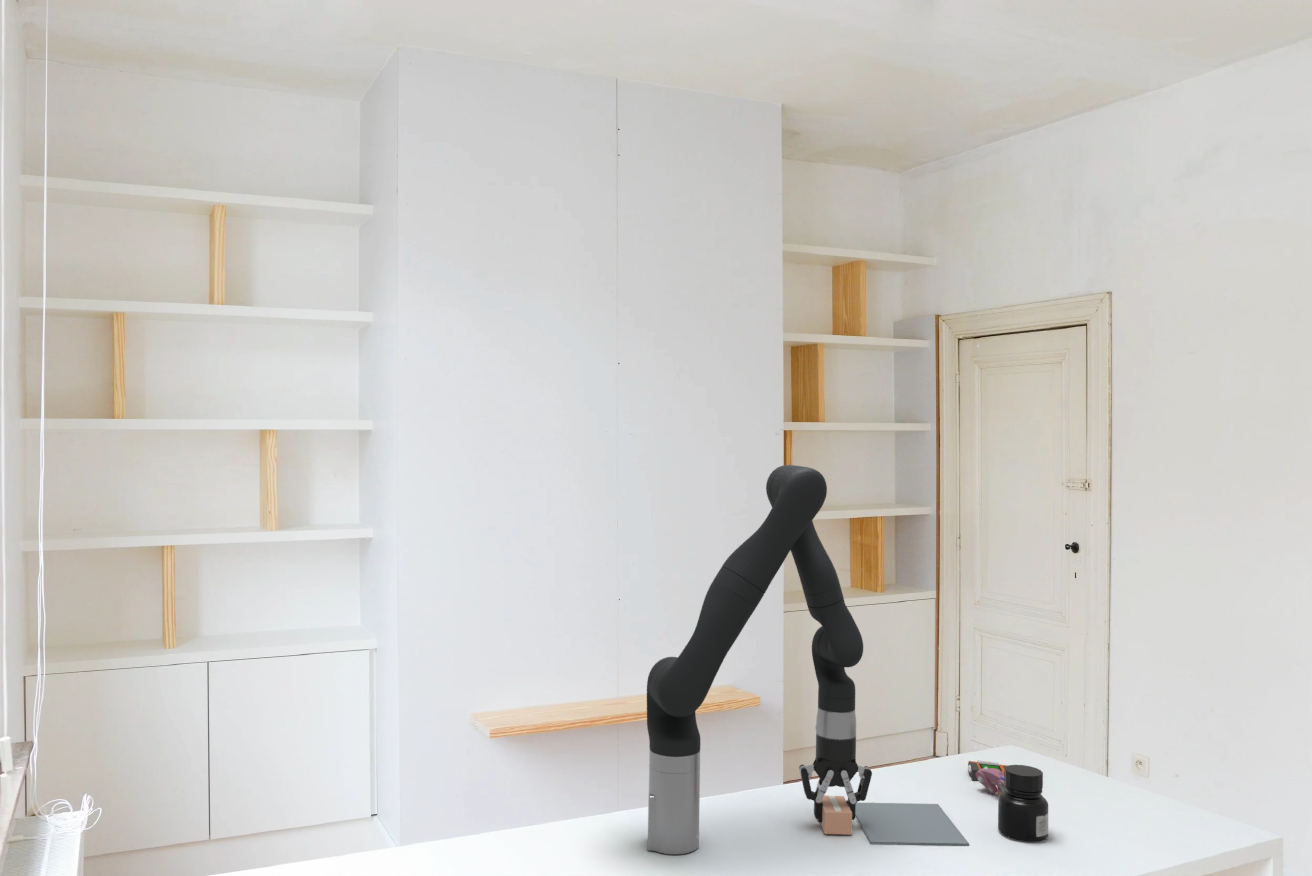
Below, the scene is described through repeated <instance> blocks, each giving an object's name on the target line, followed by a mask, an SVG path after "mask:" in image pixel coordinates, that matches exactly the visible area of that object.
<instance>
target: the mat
mask: <svg viewBox="0 0 1312 876" xmlns="http://www.w3.org/2000/svg"><path fill="white" fill-rule="evenodd" d="M855 819H857V820H856V821H857V822H858V821H859V822H858V824H859V823H860V824H859V825H860V828H861V829H862V831H863V833H864V835H865V836H866V839H867V840H868V842H869V844H870V845H894V844H897V845H898V846H901V845H903V846H905V845H906V846H910V845H911V846H954V847H955V846H956V847H957V846H958V847H959V846H960V847H968V846H970V843H969V841H968V840H967V839H966V837H964V835H963V834H962V832H961V831H960V830H959V828H958V827H957V826H956V824H954V822H953V821H952V820H951V819H950V817H949V815H948V814H946V812H945V811H944V810H943V809H942V807H941V805H940V804H939V803H910V802H907V803H906V802H905V803H903V802H897V803H896V802H857V803H856V808H855Z"/></svg>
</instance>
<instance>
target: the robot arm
mask: <svg viewBox="0 0 1312 876" xmlns="http://www.w3.org/2000/svg"><path fill="white" fill-rule="evenodd" d="M765 490H766V491H765V492H766V496H767V500H768V502H769V504H770V505H771V509H770V511H769V513H768V514H767V516H766V518H765V519H764V520H763V522H762V524H761V525H760V526H759V528H758V529H757V530H755V532H754V533H752V534H751V535H750V536H749V537H748V538H747V539H746V540H745V541H743V543H741V544H740V545H739V546H738V547H736V549H735V550H734V551H733V552H732V553H731V554H729V556H728V557H727V559H725V561H724V562H723V564H722V566H721V567H720V569H719V571H718V572H717V573H716V575H715V576H714V578H713V580H712V582H711V583H710V585H709V587H708V590H707V592H706V594H705V596H704V600H703V602H702V606H701V609H700V612H699V617H698V620H697V623H696V626H695V629H694V631H693V632H692V635H691V637H690V638H689V640H688V642H687V643H686V645H685V646H684V648H683V650H682V651H681V652H680V654H678V655H679V656H678V657H677V656H667V657H664V658H662V659H659V660H658V661H657V662H656V663H655V664H654V665H653V666H652V668H651V669H650V671H649V673H648V677H647V683H646V726H647V734H648V739H649V741H648V743H649V745H648V747H649V763H648V764H649V765H648V767H649V768H648V771H649V773H648V801H647V802H648V807H647V808H648V809H647V812H648V813H647V814H648V815H647V816H648V817H647V851H651V852H652V851H653V852H658V853H660V854H666V855H684V854H689V853H691V852H694V851H695V850H697V849H698V848H699V845H700V797H701V796H700V795H701V794H700V792H701V788H700V787H701V785H700V784H701V782H700V781H701V734H700V731H699V727H698V724H697V717H696V711H697V710H698V709H699V708H700V707H701V705H703V702H704V701H705V699H706V697H707V695H708V693H709V692H710V690H711V687H712V685H713V683H714V680H715V678H716V677H717V674H718V672H719V670H720V667H721V666H722V664H723V662H724V660H725V658H726V656H727V654H728V653H729V652H730V650H731V648H732V647H733V645H734V644H735V642H736V640H737V639H738V637H739V636H740V634H741V632H742V631H743V629H744V627H745V626H746V624H747V623H748V621H749V620H750V618H751V617H752V615H753V614H754V612H755V610H756V608H757V607H758V606H759V604H760V602H761V601H762V599H763V597H764V595H765V593H766V591H768V589H769V586H770V585H771V584H772V581H773V579H774V578H775V576H776V575H777V574H778V572H779V570H780V568H781V567H782V565H783V563H784V562H785V560H786V558H787V557H788V554H789V553H791V557H792V558H793V561H794V564H795V567H796V570H797V573H798V577H799V579H800V584H801V587H802V591H803V594H804V598H805V602H806V606H807V610H808V611H809V614H810V616H811V618H813V619H814V620H815V621H817V623H819V624H820V625H821V626H819V628H817V630H816V631H815V633H814V635H813V638H812V640H811V656H812V662H813V666H814V667H813V668H814V673H815V676H816V680H817V686H818V687H817V688H818V689H817V690H818V691H817V693H818V694H817V695H818V696H817V700H818V701H817V714H816V720H815V722H816V724H815V758H814V760H813V763H812V764H809V765H805V764H800V765H799V767H798V769H799V774H800V778H801V782H802V787H803V792H804V795H805V796H806V799H807V800H809V801H811V800H812V801H813V815H814V818H815V819H816V820H817V822H818V823H820V822H822V807H823V803H822V800H823V797H824V796H826V793H827V791H828V789H829V787H830V788H831V787H832V788H833V787H838V788H844V789H845V793H846V796H847V800H846V799H845V800H846V802H847V804H848V806H849V808H850V810H851V812H852V821H855V819H856V816H855V808H856V803H859V802H864V801H865V800H866V799H867V795H868V792H869V787H870V783H871V779H872V776H873V772H872V770H871V768H870V767H869V766H867V765H866V766H861V765H858V763H857V759H856V757H857V755H856V753H857V717H856V684H855V682H854V680H853V679H852V678H851V677H850V676H849V675H848V674H847V672H846V669H845V668H853V667H854V666H857V665H858V663H859V662H861V659H862V658H863V654H864V640H863V638H862V636H863V635H862V634H861V632H860V629H859V627H858V626H857V623H856V621H855V620H854V617H853V615H852V613H851V612H850V610H849V609H848V606H847V605H846V603H845V598H844V594H843V591H842V587H841V584H840V579H839V577H838V573H837V571H836V568H835V566H834V563H833V562H832V560H831V558H830V556H829V554H828V552H827V551H826V548H825V547H824V545H823V544H822V541H821V539H820V537H819V535H818V532H817V530H816V528H815V524H814V521H813V520H814V519H815V517H817V516H816V515H817V514H818V513H819V512H820V510H821V508H822V507H823V505H824V504H825V501H826V498H827V494H828V485H827V482H826V479H825V476H824V475H823V474H822V473H821V472H820V471H818V470H816V469H815V468H812V467H809V466H801V465H793V464H786V465H781V466H778V467H776V468H775V469H774V470H772V472H770V474H769V476H768V478H767V481H766V485H765ZM813 772H815V773H816V775H817V776H818V777H819V779H818V782H817V784H816V788H815V790H814V791H812V786H811V783H810V778H812V776H813ZM857 773H858V776H859V783H858V788H857V791H856V792H854V789H853V786H852V783H851V780H852V779H853V778H854V776H855V775H856V774H857Z"/></svg>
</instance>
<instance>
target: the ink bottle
mask: <svg viewBox="0 0 1312 876" xmlns="http://www.w3.org/2000/svg"><path fill="white" fill-rule="evenodd" d="M1043 778H1044V773H1043V771H1042V770H1041V769H1039V768H1036V767H1034V766H1030V765H1025V764H1024V765H1023V764H1008V766H1006V767H1005V768H1004V784H1005V785H1004V787H1005V790H1004V792H1002V793H1001V794H1000V795H998V800H997V801H998V804H997V829H998V832H999V833H1000V834H1001V835H1003V837H1006V838H1008V839H1011V840H1014V841H1018V842H1019V841H1020V842H1027V843H1040V842H1043V841H1046V840H1047V839H1048V837H1049V802H1048V800H1047V799H1046V798H1045V797H1044V795H1042V794H1043V784H1044V779H1043Z"/></svg>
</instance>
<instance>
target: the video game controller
mask: <svg viewBox="0 0 1312 876" xmlns="http://www.w3.org/2000/svg"><path fill="white" fill-rule="evenodd" d="M976 778H977V779H978V780H977V782H978V783H979V784H981V785H982V786H983V787H984V788H985V789H986V790H987V791H988V793H989V794H990V795H995V794H997V795H998V796H999V795H1000V794H1001V793H1002V792H1004V790H1005V787H1004V785H1005V784H1004V773H1003V772H1002V771H1000V770H998V769H995V768H989V769H988V767H986V766H985V768H982V769H980V770H979V771H977V772H976Z"/></svg>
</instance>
